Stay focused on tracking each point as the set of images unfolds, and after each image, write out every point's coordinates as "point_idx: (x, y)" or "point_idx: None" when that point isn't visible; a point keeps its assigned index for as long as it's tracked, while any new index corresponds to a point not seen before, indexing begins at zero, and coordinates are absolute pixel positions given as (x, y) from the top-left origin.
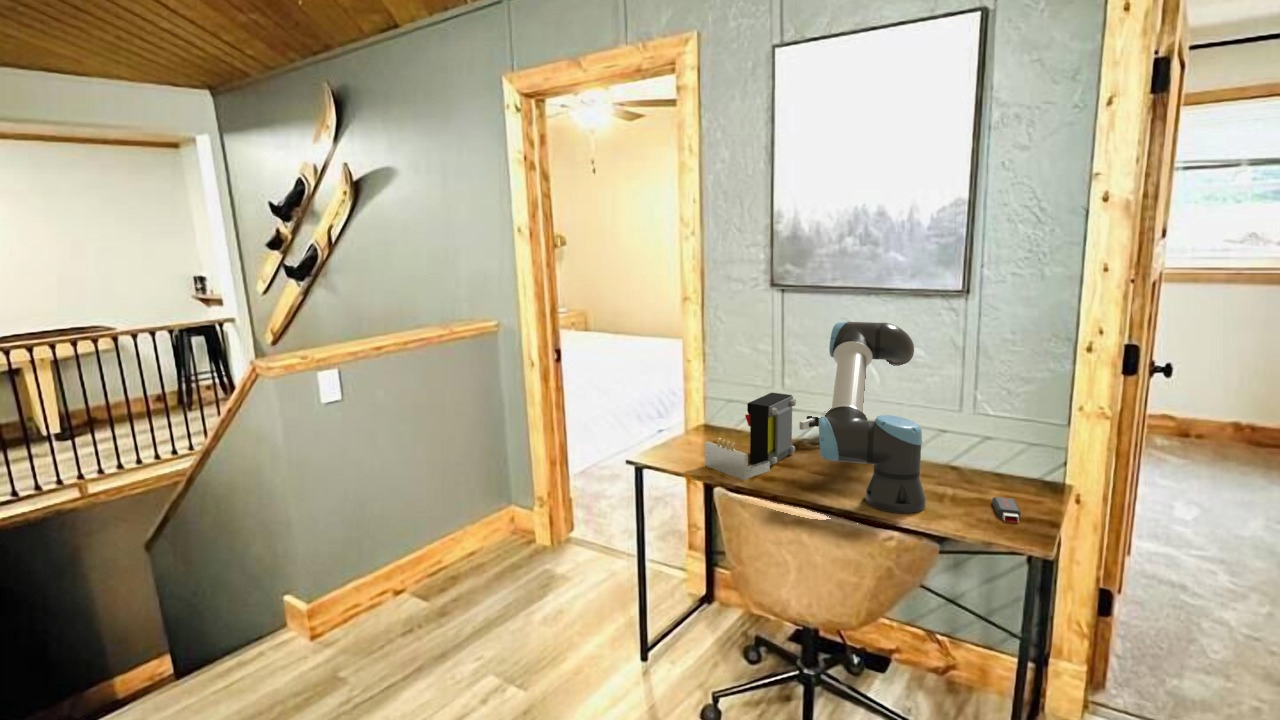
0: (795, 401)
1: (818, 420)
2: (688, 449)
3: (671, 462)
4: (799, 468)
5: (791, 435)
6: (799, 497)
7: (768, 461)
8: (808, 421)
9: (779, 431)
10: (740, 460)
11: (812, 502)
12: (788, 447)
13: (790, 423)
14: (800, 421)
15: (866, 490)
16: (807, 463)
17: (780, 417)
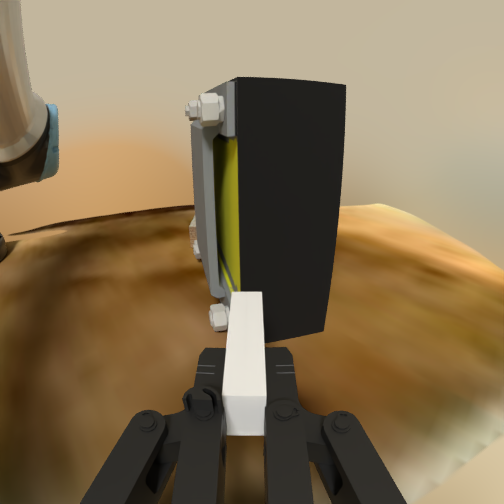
0: (197, 103)
1: (188, 412)
2: (407, 236)
3: (348, 208)
4: (139, 280)
5: (208, 252)
6: (95, 224)
7: (192, 226)
8: (228, 334)
9: (194, 181)
10: None
11: (76, 224)
12: (207, 278)
13: (202, 195)
14: (259, 295)
15: (2, 241)
16: (134, 309)
17: (192, 137)
